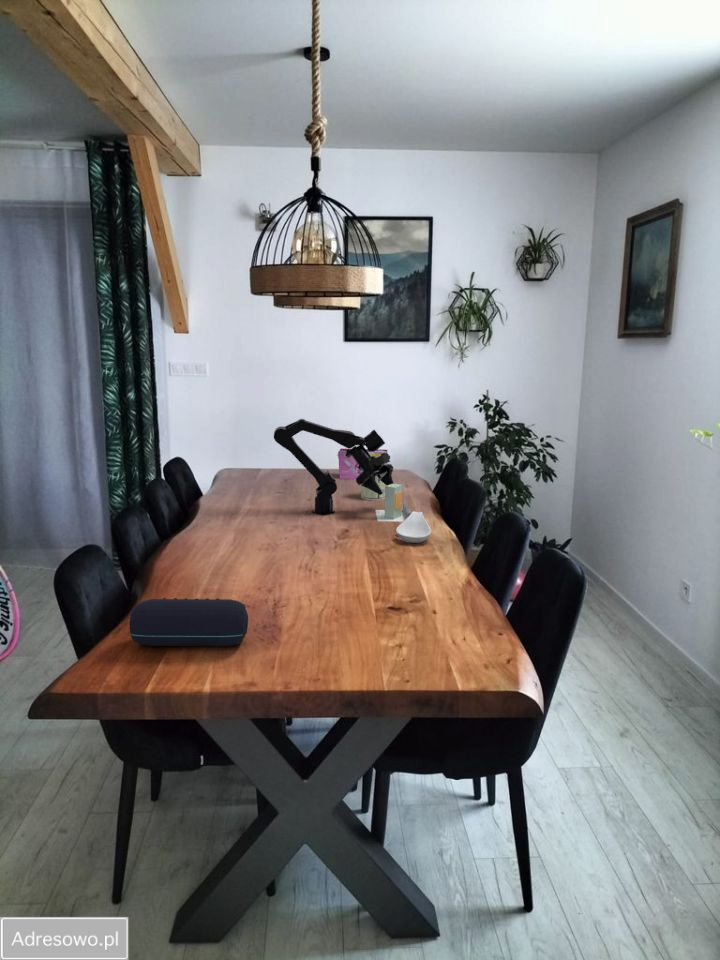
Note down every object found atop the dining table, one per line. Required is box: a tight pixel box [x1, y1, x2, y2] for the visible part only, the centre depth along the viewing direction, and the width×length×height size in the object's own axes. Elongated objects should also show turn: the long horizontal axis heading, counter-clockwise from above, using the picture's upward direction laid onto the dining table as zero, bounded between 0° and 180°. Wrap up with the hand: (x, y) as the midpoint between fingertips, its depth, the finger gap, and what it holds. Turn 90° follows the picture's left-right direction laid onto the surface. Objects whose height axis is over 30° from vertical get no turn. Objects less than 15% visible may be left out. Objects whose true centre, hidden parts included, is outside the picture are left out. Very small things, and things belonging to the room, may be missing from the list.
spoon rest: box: [395, 510, 432, 544], centre depth 228 cm, size 24×12×7 cm, turn 171°
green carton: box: [384, 483, 403, 519], centre depth 247 cm, size 6×4×12 cm
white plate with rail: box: [375, 502, 412, 523], centre depth 250 cm, size 16×12×4 cm
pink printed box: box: [336, 448, 388, 480], centre depth 318 cm, size 24×8×14 cm, turn 88°
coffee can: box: [360, 464, 386, 501], centre depth 279 cm, size 10×10×14 cm
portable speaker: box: [128, 597, 249, 647], centre depth 145 cm, size 25×10×10 cm, turn 92°
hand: (388, 491), depth 248 cm, fingers open, 9 cm apart
